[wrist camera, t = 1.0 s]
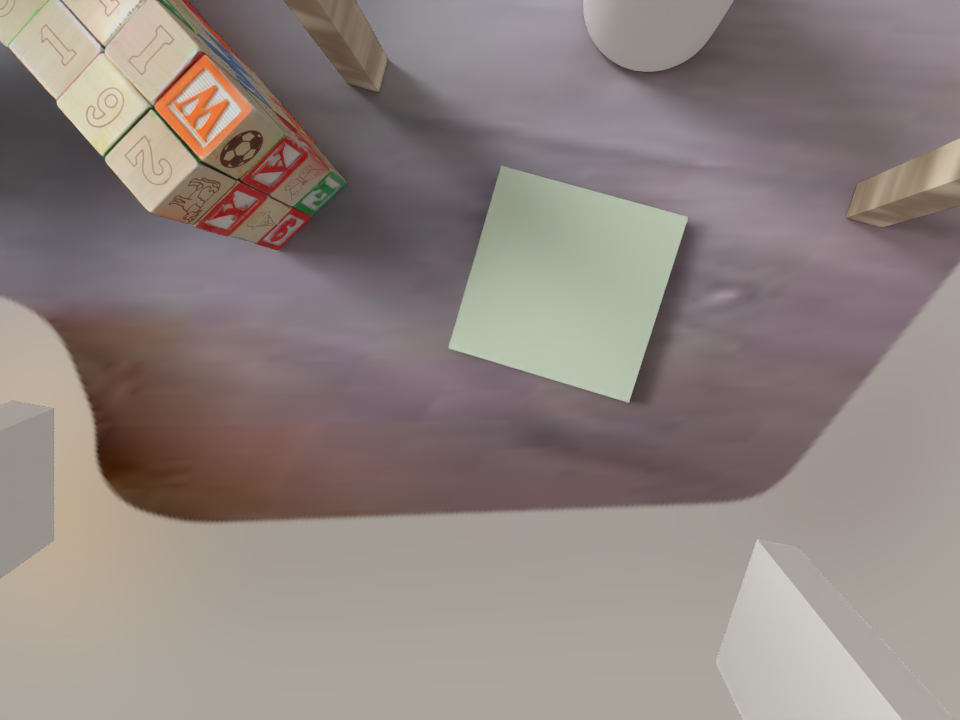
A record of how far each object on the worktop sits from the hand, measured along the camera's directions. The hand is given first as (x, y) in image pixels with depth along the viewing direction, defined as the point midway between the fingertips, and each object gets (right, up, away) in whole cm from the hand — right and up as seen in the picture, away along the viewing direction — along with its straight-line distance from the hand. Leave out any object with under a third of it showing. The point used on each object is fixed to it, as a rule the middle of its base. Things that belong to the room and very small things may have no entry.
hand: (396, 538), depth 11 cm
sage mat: (+7, +8, +23) cm, 25 cm away
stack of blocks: (-16, +20, +25) cm, 36 cm away
